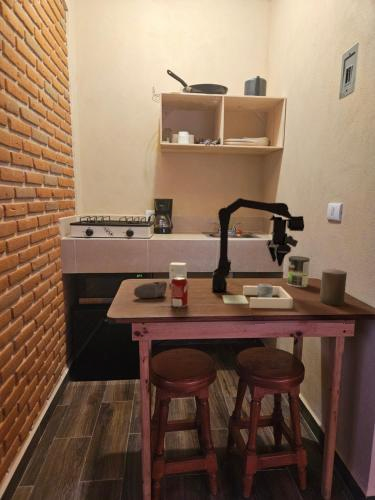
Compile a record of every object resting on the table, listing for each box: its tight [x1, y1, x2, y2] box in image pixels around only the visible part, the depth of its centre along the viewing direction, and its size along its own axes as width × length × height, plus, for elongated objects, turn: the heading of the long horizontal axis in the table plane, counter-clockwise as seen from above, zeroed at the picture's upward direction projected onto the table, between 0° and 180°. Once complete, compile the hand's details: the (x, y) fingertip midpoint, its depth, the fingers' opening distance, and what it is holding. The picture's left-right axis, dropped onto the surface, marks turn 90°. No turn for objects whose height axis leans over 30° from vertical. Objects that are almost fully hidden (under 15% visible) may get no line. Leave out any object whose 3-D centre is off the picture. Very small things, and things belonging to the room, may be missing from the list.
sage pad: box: [222, 294, 249, 305], centre depth 137 cm, size 10×10×1 cm
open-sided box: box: [242, 285, 294, 309], centre depth 137 cm, size 17×18×4 cm
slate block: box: [257, 283, 273, 298], centre depth 136 cm, size 5×5×7 cm
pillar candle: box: [319, 268, 348, 306], centre depth 135 cm, size 10×10×15 cm
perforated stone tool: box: [133, 281, 168, 299], centre depth 139 cm, size 15×5×7 cm, turn 104°
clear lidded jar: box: [286, 255, 311, 288], centre depth 162 cm, size 10×10×14 cm
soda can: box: [170, 276, 189, 309], centre depth 128 cm, size 7×7×12 cm
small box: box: [168, 261, 188, 285], centre depth 162 cm, size 8×6×10 cm
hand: (276, 263), depth 146 cm, fingers open, 9 cm apart
